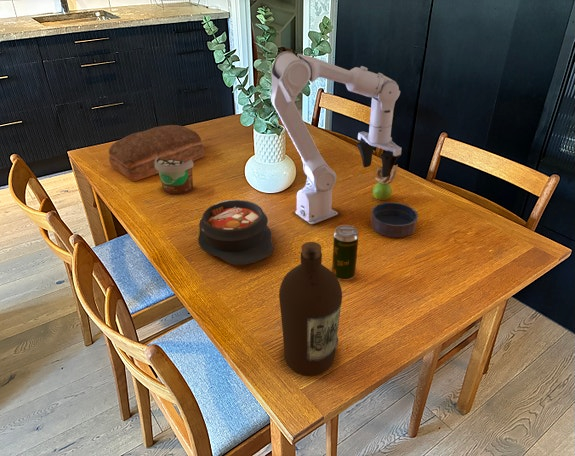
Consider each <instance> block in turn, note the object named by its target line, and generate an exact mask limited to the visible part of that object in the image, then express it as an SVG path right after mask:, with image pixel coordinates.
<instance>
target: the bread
mask: <svg viewBox="0 0 575 456" xmlns="http://www.w3.org/2000/svg"><path fill="white" fill-rule="evenodd" d="M205 154H206V151H205V146H204V144H203V143H202V138H201V136H200V135H199V134H198V133H197V132H196V131H195V130H193V129H191V128H188V127H186V126H183V125H177V124H168V125H167V124H166V125H160V126H155V127H152V128H149V129H146V130H143V131H138V132H134V133H131V134H129V135H127V136H125V137H123V138H121V139H118V140H117V141H115V142H114V143H112V144H111V146H110V147H109V149H108V155H109V158H108V159H109V161H108V162H109V165H110V166H111V167H112V168H113V169H114V170H116V171H117V172H119V173H120V174H122V175H124V176H125V177H126V178H127V179H128V180H130V181H132V182H137V181H140V180H142V179H145V178H146V179H147V178H149V177H152V176H155V175H157V174H159V172H158V170H157V169H155V159H156V157H157V156H158V159H163V160H171V159H175V160H179V161H185V162H188V161H190V160H191V159H192V161H193V162H194V161H196V160H199V159H202V158H204V157H205Z"/></svg>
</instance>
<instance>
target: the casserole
mask: <svg viewBox="0 0 575 456" xmlns="http://www.w3.org/2000/svg"><path fill="white" fill-rule="evenodd" d="M268 221H269V219H268V216H267V214H266V213H265V212H264V210H263V208H261V206H260V205H258V204H257V203H254V202H252V201H249V200H243V199H230V200H224V201H220V202H217V203H214V204H212V205H210V206H209V207H207V209H206V210H205V211H204V212H203V214H202V217H201V219H200V220H199V224H198V225H199V233H198V237H197V241H198V245H199V247H200V248H201V249H202V251H204V252H205V253H206V254H209V255H211V256H214V257H217V258H219V259H221V260H224V261H225V262H226V263H228V264H230V265H235V266H243V265H249V264H253V263H257V262H260V261H262V260H265V259H266V258H267V257H269V256H271V255H272V254H273V251H274V250H275V248H274V245H273V241H272V231H271V229H270V227H269V226H268Z"/></svg>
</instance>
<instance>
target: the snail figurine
mask: <svg viewBox="0 0 575 456" xmlns="http://www.w3.org/2000/svg"><path fill="white" fill-rule="evenodd" d="M398 166H399V165H398V164H395V165H394V167H393V168H392V170H391V173H390V175H389V176H387V177H385V178H384V177H382V166H379V167H377V169H376V171H375V174H376V177H375V180H376V181H377V183H375V185H374V186H373V187H372V196H373V197H374V198H375V199H376V200H378V201H386V200H388V199H389V198H390V197H391V196H392V193H393V189H392V186H391V185H390V184H391V183H392V182H393V181H394V179H395V177H396V174H397V173H398V169H397V168H398Z"/></svg>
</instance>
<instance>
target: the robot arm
mask: <svg viewBox="0 0 575 456" xmlns="http://www.w3.org/2000/svg"><path fill="white" fill-rule="evenodd" d="M368 69H369V68H368V67H366V66H363V65H360V67H358V66H355V67H353V68H351V69H350V70H349V69H346V68H343V67H340V66H337V65H335V64H333V63H330V62H327V61H324V60H322V59H319V58H316V57H313V56H309V55H306V54H302V53H301V54H300V53H297V55H296V54H295V53H294V52H291V51H282V52H280V53H279V54H278V55H277V56H276V57H275V59H274V61H273V63H272V66H271V68H270V75H271V83H270V84H271V86H270V87H271V89H270V100H271V104H272V106H273V108H274V109H275V112H276V114H277V116H278V117H279V119H280V121H281V122H282V125H283V126H284V128H285V130H286V132H287V134H288V136H289V138H290V139H291V141H292V143H293V145H294V147H295V148H296V150H297V153H298V154H299V156H300V157H301V158H300V160H301V161H302V165H303V166H302V167H303V168H302V169H303V170H302V171H303V173H304V175H306V180H305V185H304V187H302V188H301V189H299V190H298V191H297V193H296V210H294V213H295V214H296V215H297V216H299V217H300V218H301V219H302V220H304V221H305V222H306V223H308V224H309V225H315V224H318V223H321V222H322V221H325V220H327V219H330V218H332V217H335V216H338V214H339V212H338V211H336V210H334V209H333V208H332V206H333V187H334V186H335V185H336V184H337V183H336V182H337V180H338V177H337V173H336V172H335V170H333V169H332V168H331V167H330V166H329V165H328V164H327V162H326V161H325V159H324V158H323V156H322V155H321V153H320V150H319V149H318V146H317V145H316V143H315V141H314V138H313V137H312V135H311V132H310V131H309V128H308V126H307V125H306V123H305V120H304V119H303V117H302V115H301V113H300V111H299V109H298V107H297V106H296V104H295V101H296V99H297V97H298V96H299V94H300V93H301V92H302V91H303V89H304V88H305V87H306V86H307V84H308V83H309V82H310V83H314V82H315V81H316V80H317V79H319V78H322V79H326V80H329V81H333V82H337V83H340V84H343V85H345V87H346V89H347V91H348V92H351V93H355V94H357V95H358V94H359V95H362V96H365V97H367V98H371V104H370V115H369V127H368V132H366V131H363V130H362V131H359V132H358V134H357V140H358V141H359V142H357V143H356V148H357V149H358V151H359V154H360V157H361V162H362V166H363V167H362V168H368V167H371V165H372V160H373V159H372V158H373V153H374V149H375V148H379V149H381V150H384V151H385V152H383V153H380V159H381V164H382V166H381V167H382V177H384V178H385V177H387V176H389V175H390V173H391V174H392V169H393V168H394V167H395V165H396V162H397V161H398V160H399V158H400V157H401V155H402V150H403V149H402V147H401V146H399V145H397V144H396V143H395V142H394V141H393V137H392V136H391V135H392V128H393V127H392V125H393V118H394V109H395V104H396V101H397V100H398V98H399V97H400V95H401V90H400V88H399V84H398V83H397V81H395V80H393V79H392V78H390V77H388V76H386V75H384V74H383V73H381V72H378V73H375V72H373V71H371V70H370V71H369V70H368Z"/></svg>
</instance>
